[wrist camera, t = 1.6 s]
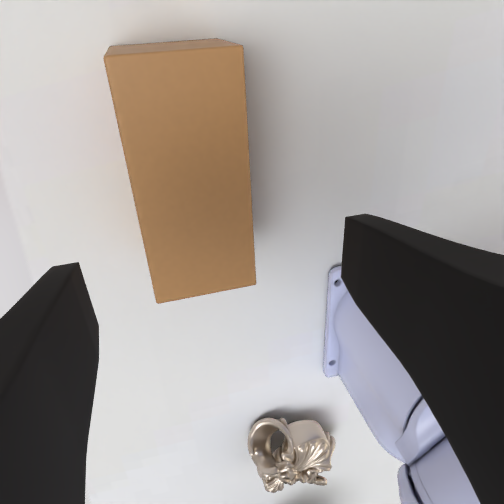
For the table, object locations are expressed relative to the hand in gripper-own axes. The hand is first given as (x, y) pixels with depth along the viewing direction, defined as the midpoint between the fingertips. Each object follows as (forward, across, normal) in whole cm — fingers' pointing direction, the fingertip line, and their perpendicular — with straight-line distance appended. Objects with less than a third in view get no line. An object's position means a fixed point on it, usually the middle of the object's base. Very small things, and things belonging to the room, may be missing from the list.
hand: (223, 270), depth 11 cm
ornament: (+11, -5, +24) cm, 27 cm away
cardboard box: (+10, 0, 0) cm, 10 cm away
